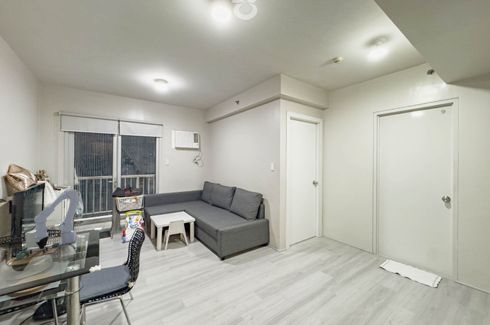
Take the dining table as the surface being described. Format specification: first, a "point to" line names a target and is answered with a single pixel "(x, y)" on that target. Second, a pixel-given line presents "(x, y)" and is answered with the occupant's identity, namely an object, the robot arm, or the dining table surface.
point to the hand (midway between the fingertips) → (43, 247)
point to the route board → (34, 253)
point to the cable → (44, 247)
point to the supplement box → (31, 239)
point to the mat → (50, 248)
